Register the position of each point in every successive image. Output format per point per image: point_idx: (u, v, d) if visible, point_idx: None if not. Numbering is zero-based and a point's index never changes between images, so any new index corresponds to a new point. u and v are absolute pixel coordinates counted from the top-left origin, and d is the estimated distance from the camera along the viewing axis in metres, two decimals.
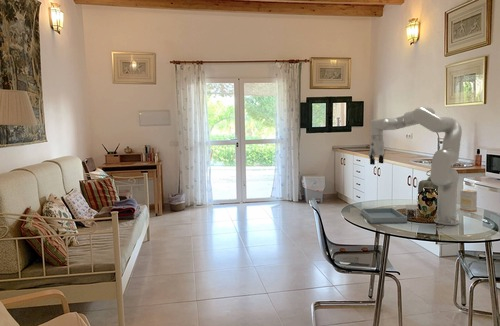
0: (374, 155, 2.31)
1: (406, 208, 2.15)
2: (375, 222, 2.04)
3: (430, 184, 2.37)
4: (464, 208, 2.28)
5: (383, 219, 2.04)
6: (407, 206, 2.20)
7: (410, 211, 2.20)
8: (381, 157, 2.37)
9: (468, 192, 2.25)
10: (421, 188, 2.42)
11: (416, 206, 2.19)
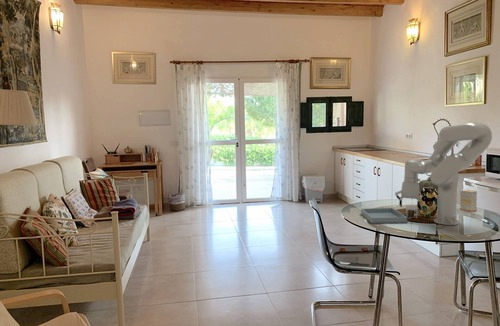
0: None
1: (406, 208, 2.14)
2: (375, 222, 2.04)
3: (430, 184, 2.37)
4: (464, 208, 2.28)
5: (383, 219, 2.04)
6: (407, 206, 2.20)
7: (410, 213, 2.19)
8: (401, 200, 2.21)
9: (468, 192, 2.25)
10: (421, 188, 2.42)
11: (416, 206, 2.19)
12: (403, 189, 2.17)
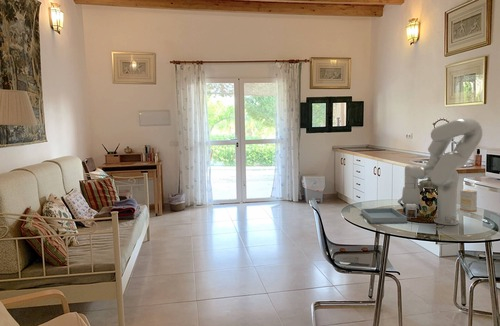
0: None
1: (406, 208, 2.15)
2: (375, 222, 2.04)
3: (430, 184, 2.37)
4: (464, 208, 2.28)
5: (383, 219, 2.04)
6: (407, 206, 2.20)
7: (410, 213, 2.19)
8: (405, 207, 2.20)
9: (468, 192, 2.25)
10: (421, 188, 2.42)
11: None
12: (404, 195, 2.17)
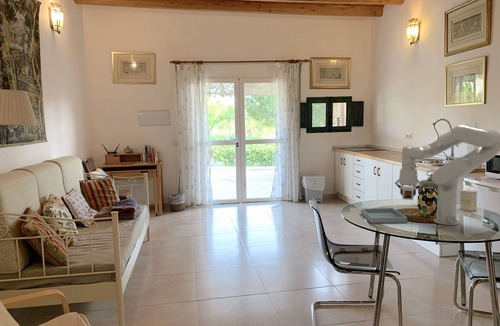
0: (414, 185, 2.17)
1: (403, 189, 2.13)
2: (375, 222, 2.04)
3: (430, 184, 2.37)
4: (464, 208, 2.28)
5: (383, 219, 2.04)
6: (404, 187, 2.18)
7: (407, 192, 2.19)
8: (402, 189, 2.19)
9: (468, 192, 2.25)
10: (421, 188, 2.42)
11: (413, 187, 2.17)
12: (401, 176, 2.16)
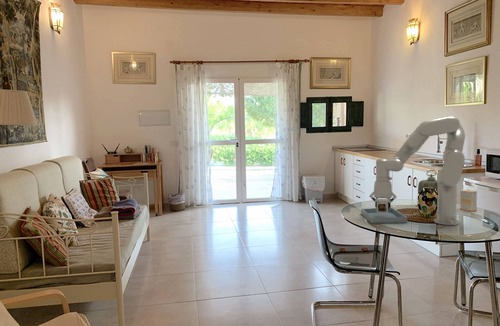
0: None
1: (377, 202, 2.09)
2: (375, 222, 2.04)
3: (430, 184, 2.37)
4: (464, 208, 2.28)
5: (383, 219, 2.04)
6: (379, 200, 2.14)
7: (382, 208, 2.14)
8: None
9: (468, 192, 2.25)
10: (421, 188, 2.42)
11: None
12: (375, 189, 2.12)
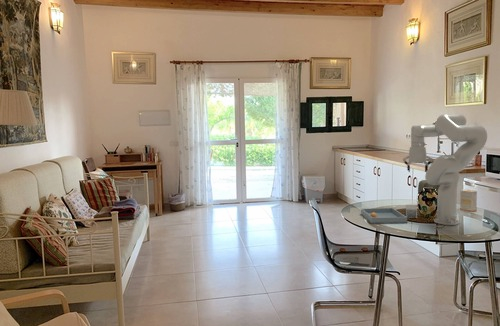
0: None
1: (406, 208, 2.14)
2: (375, 222, 2.04)
3: None
4: (464, 208, 2.28)
5: (383, 219, 2.04)
6: (407, 206, 2.19)
7: (376, 216, 2.13)
8: (409, 165, 2.28)
9: (468, 192, 2.25)
10: (421, 188, 2.42)
11: (416, 206, 2.18)
12: (410, 154, 2.24)
